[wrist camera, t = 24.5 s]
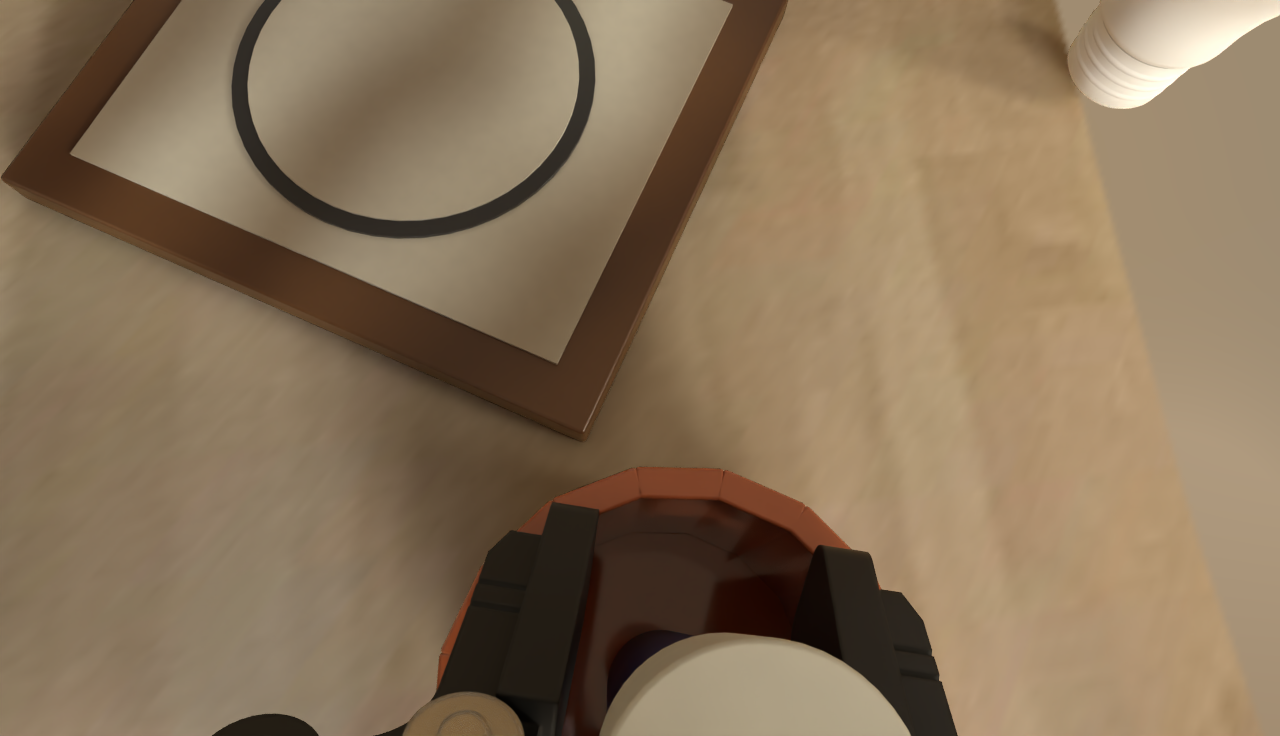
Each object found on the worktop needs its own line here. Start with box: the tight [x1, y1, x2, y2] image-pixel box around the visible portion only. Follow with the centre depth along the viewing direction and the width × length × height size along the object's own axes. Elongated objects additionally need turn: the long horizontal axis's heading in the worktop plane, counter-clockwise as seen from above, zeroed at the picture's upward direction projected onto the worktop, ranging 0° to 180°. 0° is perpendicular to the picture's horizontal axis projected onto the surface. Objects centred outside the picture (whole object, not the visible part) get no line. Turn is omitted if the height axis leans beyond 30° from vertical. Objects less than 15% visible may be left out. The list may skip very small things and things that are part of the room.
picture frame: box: [1, 0, 788, 442], centre depth 21 cm, size 15×13×1 cm
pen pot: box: [436, 466, 882, 736], centre depth 15 cm, size 7×7×6 cm
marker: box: [599, 630, 911, 736], centre depth 11 cm, size 2×2×12 cm
